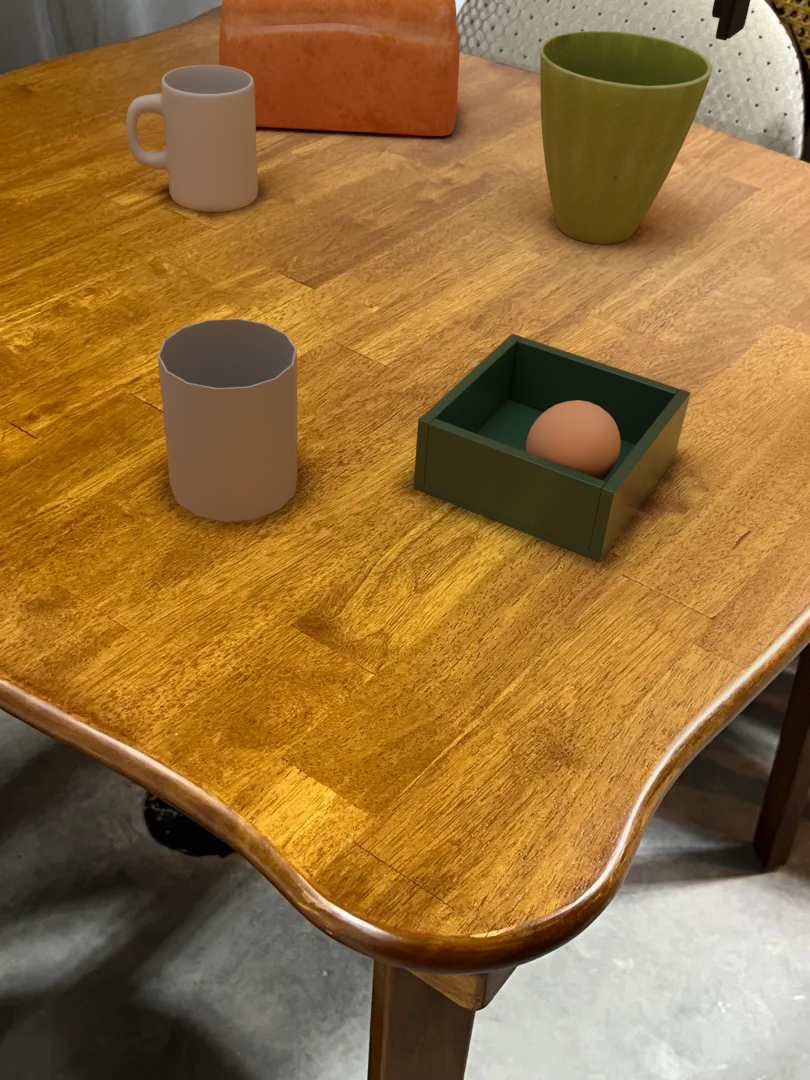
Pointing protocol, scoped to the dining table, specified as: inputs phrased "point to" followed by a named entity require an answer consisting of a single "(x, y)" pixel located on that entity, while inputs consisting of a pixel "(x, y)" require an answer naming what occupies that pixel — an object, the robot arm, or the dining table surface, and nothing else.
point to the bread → (347, 63)
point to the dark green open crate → (533, 482)
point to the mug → (203, 136)
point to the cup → (230, 418)
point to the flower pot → (614, 125)
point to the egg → (576, 438)
